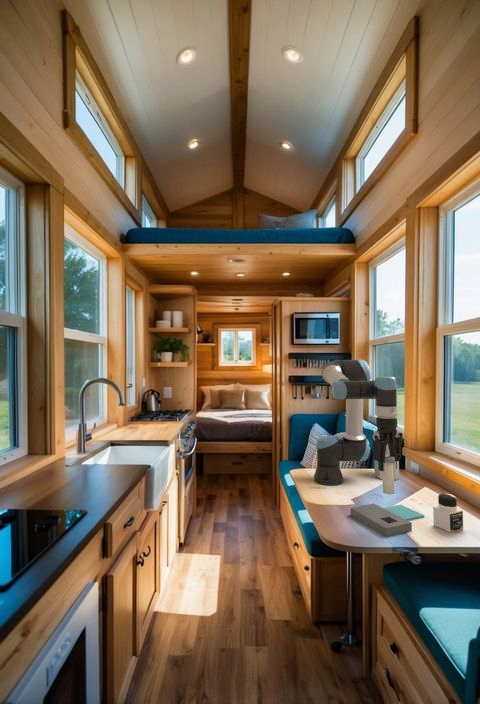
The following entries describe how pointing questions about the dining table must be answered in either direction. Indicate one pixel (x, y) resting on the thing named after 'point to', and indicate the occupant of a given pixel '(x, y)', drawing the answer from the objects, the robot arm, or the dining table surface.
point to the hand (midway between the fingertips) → (388, 478)
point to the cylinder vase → (376, 467)
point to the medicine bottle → (448, 514)
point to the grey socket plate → (381, 519)
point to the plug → (389, 475)
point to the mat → (404, 512)
